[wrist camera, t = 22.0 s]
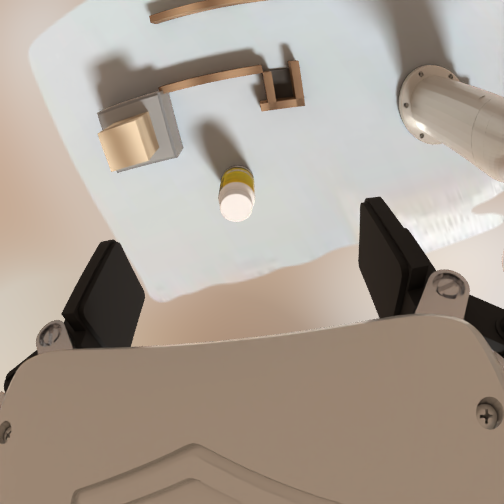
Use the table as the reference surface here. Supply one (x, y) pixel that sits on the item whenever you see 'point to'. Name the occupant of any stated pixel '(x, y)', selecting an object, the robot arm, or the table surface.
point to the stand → (161, 122)
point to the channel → (276, 81)
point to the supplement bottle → (236, 193)
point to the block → (129, 141)
